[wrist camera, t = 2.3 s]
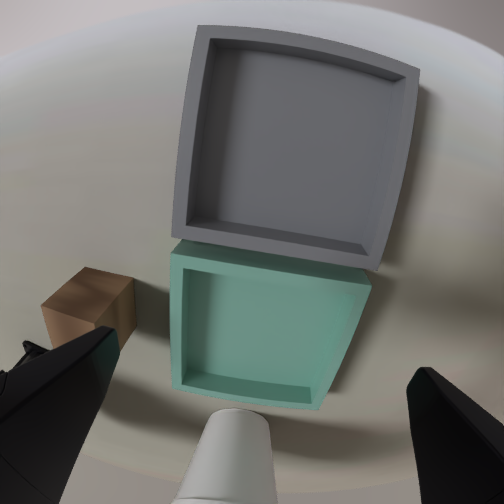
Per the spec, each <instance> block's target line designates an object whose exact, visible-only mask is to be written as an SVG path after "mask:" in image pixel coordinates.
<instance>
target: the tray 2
mask: <svg viewBox="0 0 504 504" xmlns="http://www.w3.org/2000/svg"><path fill="white" fill-rule="evenodd" d="M371 288H372V285H371V283H370V281H369V279H368V278H367V276H366V274H365V272H364V271H363V269H362V268H356V267H350V266H344V265H338V264H332V263H326V262H320V261H314V260H308V259H302V258H296V257H290V256H284V255H278V254H272V253H266V252H260V251H253V250H247V249H241V248H235V247H229V246H223V245H217V244H211V243H205V242H198V241H192V240H186V239H182V240H181V241H180V243H179V244H178V245H177V246H176V247H175V249H174V250H173V251H172V252H171V259H170V349H171V374H172V388H173V389H177V390H181V391H185V392H190V393H195V394H199V395H204V396H209V397H215V398H220V399H226V400H232V401H238V402H244V403H251V404H259V405H267V406H275V407H285V408H296V409H309V410H319V408H320V406H321V404H322V402H323V400H324V398H325V396H326V394H327V392H328V390H329V388H330V386H331V384H332V382H333V380H334V377H335V375H336V373H337V371H338V369H339V367H340V365H341V362H342V360H343V358H344V356H345V353H346V351H347V349H348V347H349V344H350V342H351V339H352V337H353V335H354V332H355V330H356V327H357V325H358V322H359V320H360V317H361V315H362V312H363V310H364V307H365V304H366V302H367V299H368V296H369V293H370V291H371Z"/></svg>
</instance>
